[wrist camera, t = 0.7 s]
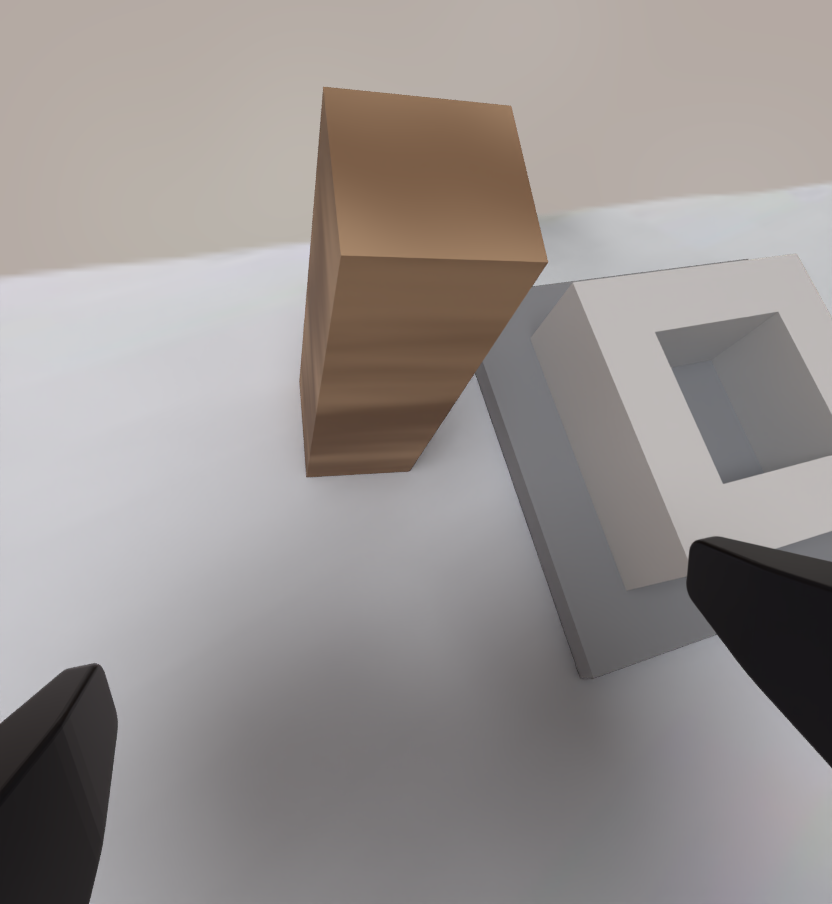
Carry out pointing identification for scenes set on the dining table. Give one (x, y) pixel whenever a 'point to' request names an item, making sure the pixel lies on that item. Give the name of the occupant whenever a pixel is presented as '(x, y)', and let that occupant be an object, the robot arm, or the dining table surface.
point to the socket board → (571, 514)
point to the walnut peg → (407, 270)
